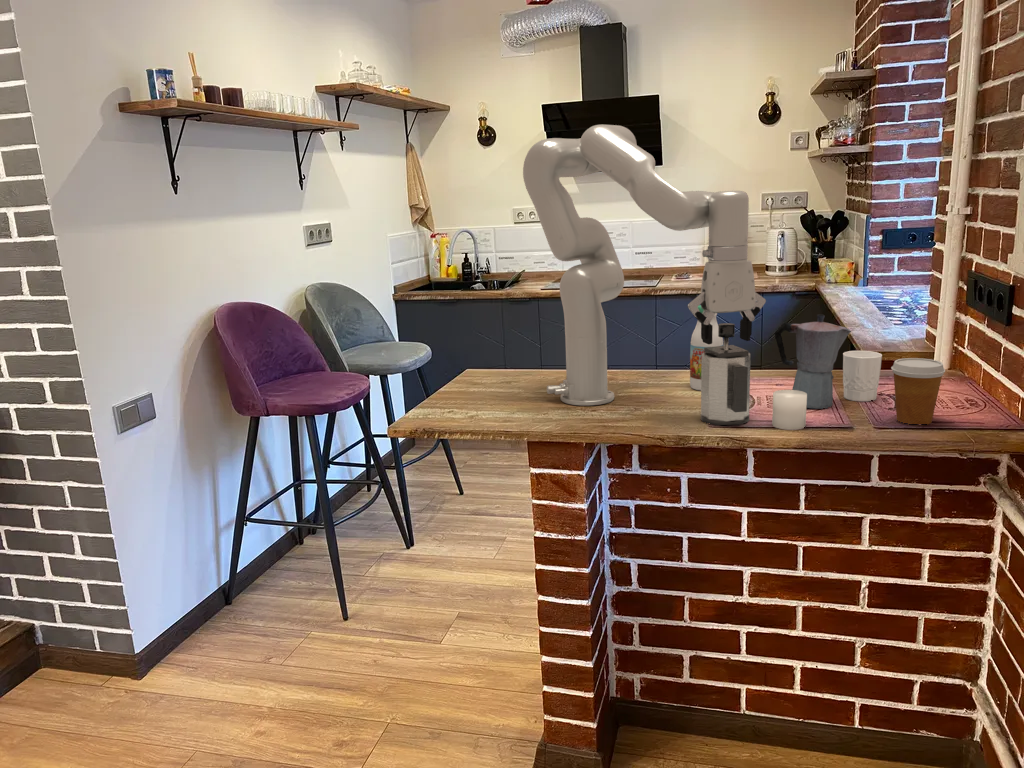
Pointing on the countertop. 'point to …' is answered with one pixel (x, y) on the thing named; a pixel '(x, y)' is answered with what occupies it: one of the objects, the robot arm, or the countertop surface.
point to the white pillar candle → (789, 409)
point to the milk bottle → (701, 350)
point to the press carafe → (725, 385)
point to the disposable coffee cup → (916, 389)
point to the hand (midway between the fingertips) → (726, 340)
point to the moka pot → (814, 358)
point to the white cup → (861, 375)
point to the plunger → (726, 332)
